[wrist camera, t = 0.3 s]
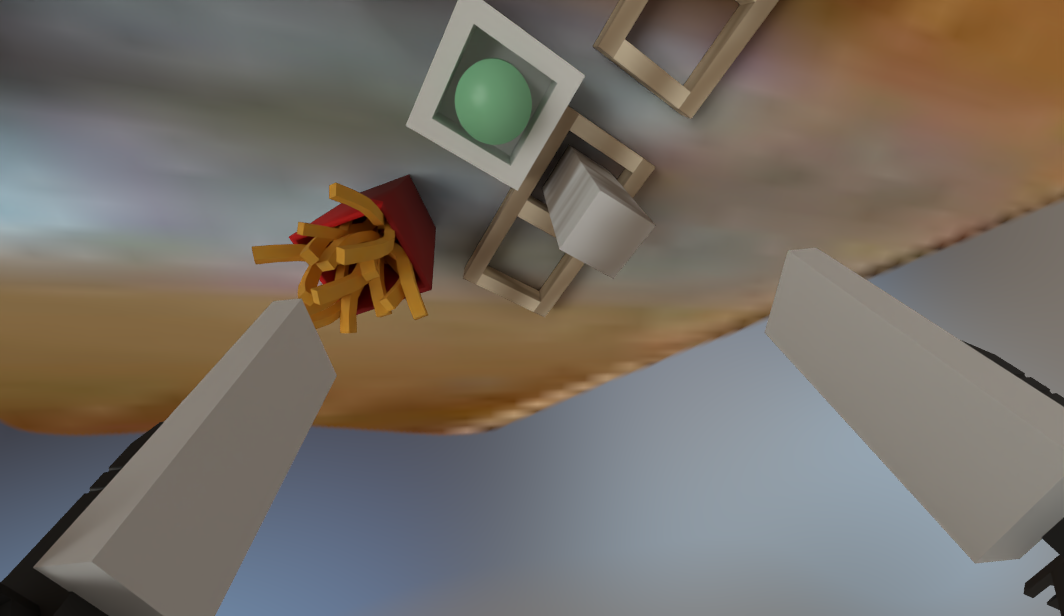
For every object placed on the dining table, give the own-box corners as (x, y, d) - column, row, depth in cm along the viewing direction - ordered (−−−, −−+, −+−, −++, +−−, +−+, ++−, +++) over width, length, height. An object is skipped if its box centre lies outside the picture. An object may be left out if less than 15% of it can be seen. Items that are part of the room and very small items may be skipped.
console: (421, 112, 30) (405, 125, 25) (470, -4, 27) (463, -14, 22) (514, 168, 33) (517, 191, 28) (570, 70, 29) (585, 75, 24)
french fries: (451, 234, 36) (423, 338, 23) (366, 264, 37) (295, 379, 24) (401, 131, 31) (333, 191, 18) (305, 169, 32) (178, 250, 19)
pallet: (464, 267, 37) (451, 350, 27) (561, 100, 30) (590, 128, 20) (542, 306, 40) (556, 393, 30) (647, 161, 33) (711, 211, 23)
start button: (448, 110, 27) (441, 118, 24) (479, 41, 25) (476, 41, 22) (507, 146, 28) (507, 158, 25) (541, 84, 26) (546, 89, 23)
